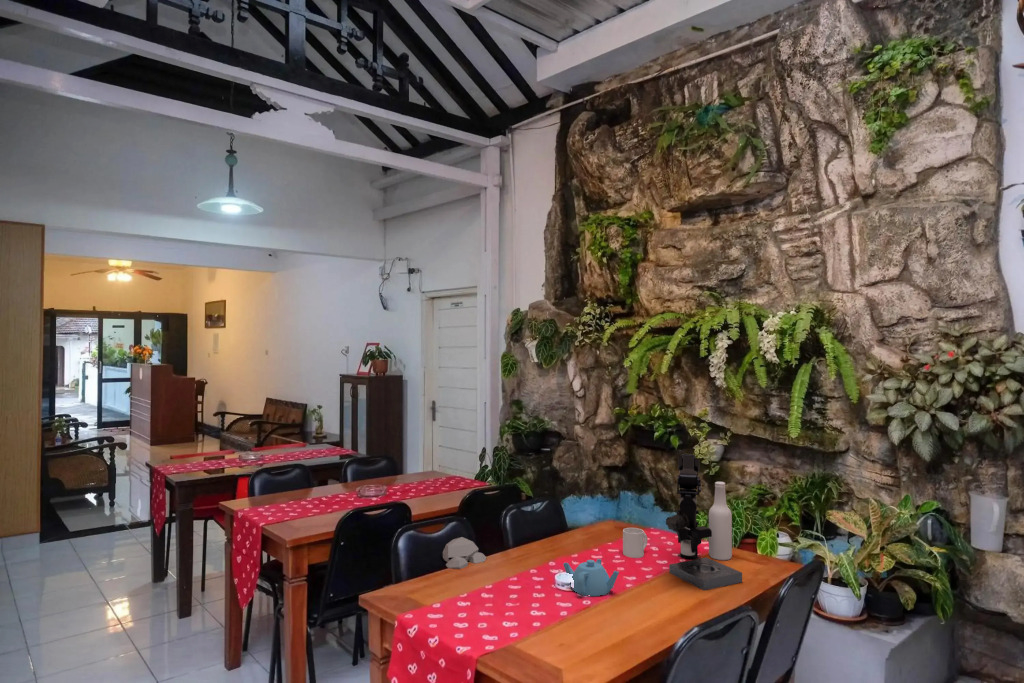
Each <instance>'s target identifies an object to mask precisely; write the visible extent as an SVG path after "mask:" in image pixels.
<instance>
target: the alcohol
mask: <svg viewBox="0 0 1024 683" xmlns="http://www.w3.org/2000/svg"><path fill="white" fill-rule="evenodd" d="M714 487H715V488H714V497H713V498H714V500H713V504H712V506H711V507H710V508H709V511H708V528H710V529H711V531H712V537H708V556H710V559H711V558H712V560H713V559H714V560H715V561H716V560H717V561H729V560H731V558H732V557H733V541H732V540H733V525H732V524H733V518H732V516H733V514H732V510H731V509H730V508H729V507H728V505H727V497H726V495H727V494H726V482H724V481H716V482H714Z"/></svg>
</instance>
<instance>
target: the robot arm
mask: <svg viewBox="0 0 1024 683" xmlns="http://www.w3.org/2000/svg"><path fill="white" fill-rule="evenodd" d="M700 467H701V466H700V459H699V458H697V457H696V455H695V454H693V453H683V454H681V456H680V457H678V458H677V471H679V473H678V475H677V476H676V477H677V478H676V481H677V482H676V484H677V485H676V494H678V495H679V509H677V510H676V514H675V515H672V516H667V518H666V519H665V525H667V528H668V530H671V531H673V532H676V534H677V543H678V544H680V545H681V541H682V540H691V551H692V553H694V552H695V555H692V556H687V555H683V554H681V553H680V554H677V557H680V558H683V559H684V560H686V561H690V560H695V559H701V557H700V556H698V554H699V552H698V551H699V550H698V547H699V546H700V545H701V544H702V540H703V539H705V538H706V539H707V538H709V537H712V531H711V529H710V528H709V527H707V526H705V525H701V526H699V525H700V522H699V521H697V515H699V514H700V511H699V510H697V496H699V495H700V492H701V493H702V482H701V479H700V476H699V474H698V473H699V472H700V469H701V468H700Z"/></svg>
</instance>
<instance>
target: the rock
mask: <svg viewBox="0 0 1024 683" xmlns="http://www.w3.org/2000/svg"><path fill="white" fill-rule="evenodd" d="M486 557H487V556H486V555H485V554H484V553H482V552H479V547H478V546H477V545H476V543H475V542H474V541H472V540H470V539H468V538H465V537H463V536H461V537H457V538H454V539H452V540H450V541H449V542H448V543H446V544H445V547H444V548H443V551H442V559H443V560H444V561H445V562H446V564H445V566H446V567H447V568H448V569H457V570H462V569H464V568H467V567H468V566H469V562H470V563H472V564H474V565H476V564H480V562H481V563H484V562H485V561H486V559H487V558H486ZM450 558H451V559H450ZM468 561H469V562H468Z"/></svg>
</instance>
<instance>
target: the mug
mask: <svg viewBox="0 0 1024 683" xmlns="http://www.w3.org/2000/svg"><path fill="white" fill-rule="evenodd" d="M647 544H648V535H647V534H646V532H645V531H644V530H643V529H641V528H637V527H626V528H623V530H622V555H623V556H625V557H627V558H631V559H640V558H643V557H644V554H645V548H646V547H647Z"/></svg>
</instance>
